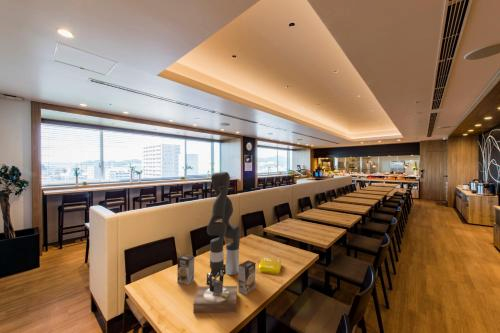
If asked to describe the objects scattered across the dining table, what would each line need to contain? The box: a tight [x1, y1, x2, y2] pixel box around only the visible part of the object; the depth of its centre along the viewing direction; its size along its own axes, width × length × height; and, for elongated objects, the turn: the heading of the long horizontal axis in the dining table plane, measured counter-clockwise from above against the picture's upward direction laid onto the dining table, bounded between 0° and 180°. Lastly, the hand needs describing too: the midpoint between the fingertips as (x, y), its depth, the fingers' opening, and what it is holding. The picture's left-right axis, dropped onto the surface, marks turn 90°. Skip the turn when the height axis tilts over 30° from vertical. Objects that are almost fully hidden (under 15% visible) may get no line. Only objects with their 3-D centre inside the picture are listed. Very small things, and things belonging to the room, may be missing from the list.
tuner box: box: [192, 285, 238, 314], centre depth 116 cm, size 15×22×6 cm
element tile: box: [258, 257, 282, 275], centre depth 155 cm, size 15×15×5 cm
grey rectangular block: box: [212, 279, 227, 297], centre depth 115 cm, size 10×4×7 cm, turn 61°
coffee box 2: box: [237, 259, 256, 296], centre depth 128 cm, size 9×6×16 cm
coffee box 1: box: [177, 253, 195, 285], centre depth 137 cm, size 9×6×16 cm
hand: (216, 287), depth 116 cm, fingers open, 8 cm apart
